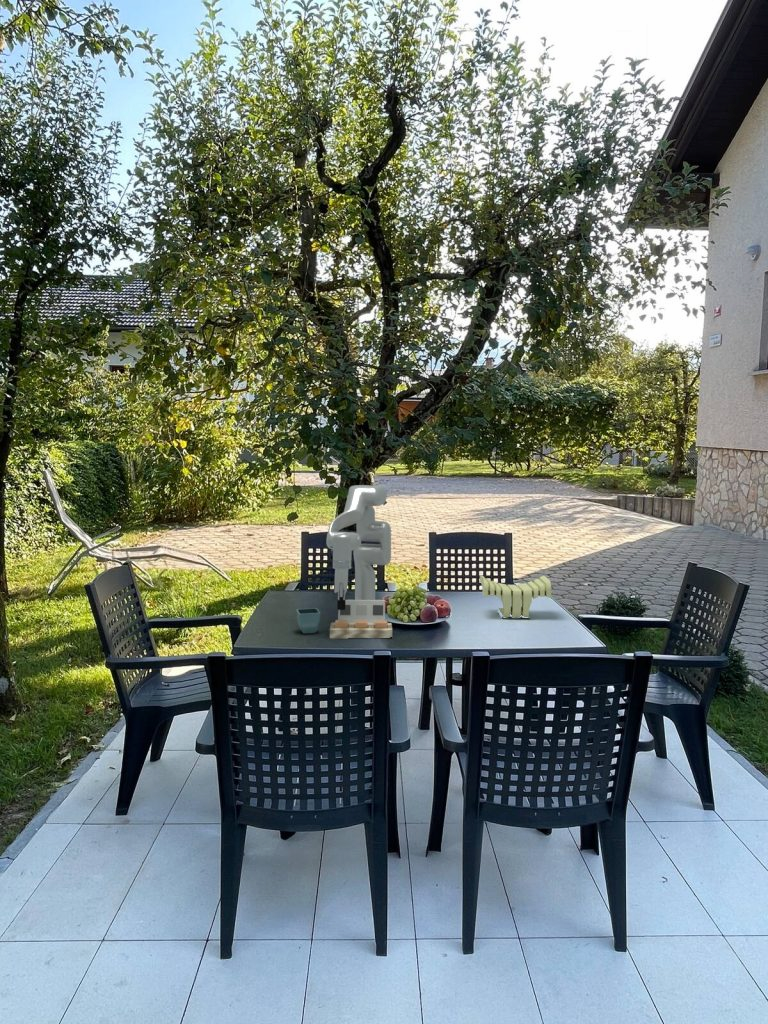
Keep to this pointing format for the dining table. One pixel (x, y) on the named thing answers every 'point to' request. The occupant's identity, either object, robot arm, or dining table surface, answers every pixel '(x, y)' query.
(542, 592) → the slatted curved stool
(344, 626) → the key
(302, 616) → the flower pot
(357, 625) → the middle key
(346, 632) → the key board
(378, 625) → the key
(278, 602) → the dining table surface
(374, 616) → the pattern sign
